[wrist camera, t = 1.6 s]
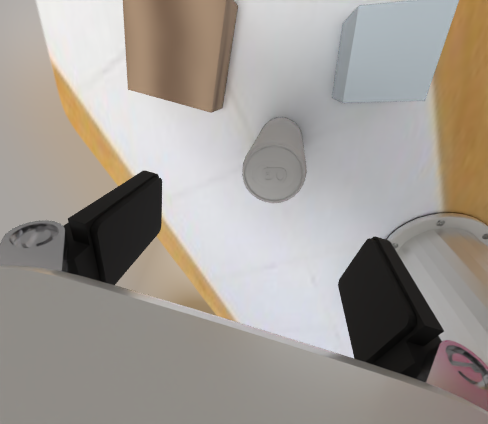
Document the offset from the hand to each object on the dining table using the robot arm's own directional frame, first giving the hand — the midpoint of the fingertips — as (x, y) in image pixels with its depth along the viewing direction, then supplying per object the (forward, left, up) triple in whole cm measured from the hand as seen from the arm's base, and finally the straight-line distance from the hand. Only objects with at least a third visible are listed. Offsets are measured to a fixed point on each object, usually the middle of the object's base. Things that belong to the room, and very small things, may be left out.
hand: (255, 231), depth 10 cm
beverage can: (0, 0, -19) cm, 19 cm away
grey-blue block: (-6, -9, -19) cm, 22 cm away
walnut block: (+12, -6, -19) cm, 23 cm away
